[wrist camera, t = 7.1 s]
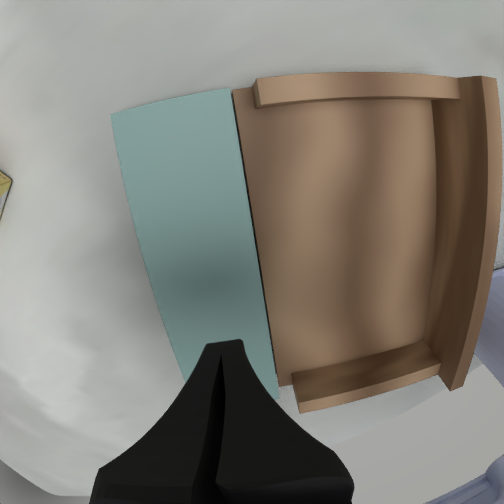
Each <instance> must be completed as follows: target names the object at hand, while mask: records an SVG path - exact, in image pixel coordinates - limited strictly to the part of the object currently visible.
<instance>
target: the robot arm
mask: <svg viewBox="0 0 504 504" xmlns="http://www.w3.org/2000/svg"><path fill="white" fill-rule="evenodd" d="M474 353H475V355H476V356H477V357H478V358H479V359H480V360H481V361H482V362H483V364H484V365H485V366H486V367H487V368H488V369H489V371H490V372H491V373H492V374H493V375H494V376H495V377H496V379H497V380H498V381H499V382H500V383H501V385H502V386H503V387H504V268H501V269H498V270H495V271H493V275H492V280H491V286H490V291H489V295H488V300H487V305H486V309H485V313H484V317H483V322H482V325H481V329H480V333H479V337H478V340H477V344H476V347H475V350H474ZM353 491H354V482H353V479H352V477H351V476H350V474H349V472H348V470H347V468H346V467H345V465H344V464H343V463H342V461H341V460H340V459H339V457H338V456H337V455H336V453H335V452H334V451H333V450H331V449H329V448H328V447H326V446H325V445H323V444H322V443H321V442H319V441H318V440H316V439H315V438H314V437H312V436H311V435H310V434H309V433H307V432H306V431H305V430H304V429H302V428H301V427H300V426H299V425H298V424H297V423H296V422H295V421H294V420H293V419H291V418H290V417H289V416H288V415H287V414H286V413H285V412H284V410H283V409H282V408H281V407H280V406H279V405H278V404H277V403H276V401H275V400H274V399H273V398H272V397H271V395H270V394H269V393H268V391H267V390H266V389H265V387H264V386H263V384H262V383H261V381H260V380H259V378H258V377H257V375H256V373H255V371H254V369H253V368H252V366H251V364H250V362H249V360H248V357H247V355H246V352H245V347H244V343H243V340H241V339H235V340H228V341H221V342H214V343H207V344H206V345H205V347H204V349H203V351H202V353H201V356H200V358H199V360H198V362H197V364H196V366H195V368H194V369H193V371H192V373H191V375H190V376H189V378H188V380H187V382H186V383H185V385H184V387H183V388H182V390H181V391H180V393H179V394H178V396H177V397H176V399H175V400H174V402H173V403H172V404H171V406H170V407H169V408H168V410H167V411H166V412H165V413H164V415H163V416H162V417H161V418H160V419H159V420H158V422H157V423H156V424H155V425H154V426H153V427H152V428H151V429H150V430H149V431H148V432H147V433H146V434H145V435H144V436H143V437H142V438H141V439H140V440H138V441H137V442H136V443H135V444H134V445H133V446H131V447H130V448H129V449H128V450H126V451H125V452H124V453H122V454H121V455H120V456H118V457H117V458H115V459H114V460H112V461H111V462H109V463H108V464H106V465H105V466H103V467H101V468H100V469H99V470H98V473H97V476H96V478H95V482H94V486H93V490H92V494H91V498H90V502H89V504H352V502H351V499H352V496H353ZM0 504H2V503H0ZM425 504H504V455H502V456H500V457H499V458H498V459H496V460H495V461H494V462H493V463H492V464H491V465H490V466H489V467H488V469H487V471H486V473H484V474H483V475H481V476H479V477H477V478H475V479H474V480H472V481H470V482H468V483H466V484H464V485H462V486H461V487H459V488H457V489H455V490H453V491H451V492H448V493H447V494H445V495H442V496H440V497H438V498H436V499H433V500H431V501H429V502H427V503H425Z"/></svg>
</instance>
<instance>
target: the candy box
mask: <svg viewBox="0 0 504 504" xmlns="http://www.w3.org/2000/svg"><path fill="white" fill-rule="evenodd" d="M10 184H11V179H10V178H8V177H7V176H5V175H4V174H3V173H2V172H0V217H1V213H2V210H3V206H4V203H5V199H6V196H7V193H8V190H9V187H10Z"/></svg>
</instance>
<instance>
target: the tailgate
mask: <svg viewBox="0 0 504 504" xmlns="http://www.w3.org/2000/svg"><path fill="white" fill-rule="evenodd" d="M110 115H111V121H112V127H113V132H114V138H115V143H116V148H117V153H118V158H119V163H120V167H121V172H122V177H123V181H124V186H125V190H126V194H127V198H128V203H129V207H130V211H131V215H132V219H133V223H134V226H135V230H136V234H137V238H138V241H139V245H140V249H141V252H142V256H143V259H144V263H145V266H146V269H147V273H148V276H149V279H150V283H151V286H152V289H153V292H154V295H155V299H156V302H157V305H158V308H159V311H160V314H161V317H162V320H163V323H164V326H165V328H166V331H167V334H168V337H169V340H170V343H171V345H172V348H173V351H174V354H175V356H176V359H177V362H178V364H179V367H180V370H181V372H182V375H183V377H184V380H185V382H187V380H188V378H189V376H190V375H191V373H192V371H193V369H194V368H195V366H196V364H197V362H198V360H199V358H200V356H201V353H202V351H203V349H204V347H205V345H206V344H207V343H214V342H221V341H228V340H235V339H241V340H243V343H244V347H245V352H246V355H247V357H248V360H249V362H250V364H251V366H252V368H253V369H254V371H255V373H256V375H257V377H258V378H259V380H260V381H261V383H262V384H263V386H264V387H265V389H266V390H267V391H268V393H269V394H270V395H271V397H272V398H273V399H274V400H275V399H279V393H278V386H277V380H276V373H275V367H274V361H273V354H272V348H271V341H270V335H269V329H268V322H267V316H266V310H265V303H264V297H263V291H262V284H261V278H260V272H259V265H258V259H257V253H256V247H255V240H254V234H253V228H252V222H251V215H250V209H249V203H248V197H247V191H246V184H245V178H244V172H243V166H242V160H241V154H240V147H239V141H238V135H237V129H236V123H235V117H234V111H233V105H232V99H231V92H230V88H224V89H218V90H212V91H207V92H201V93H196V94H191V95H186V96H181V97H176V98H172V99H167V100H163V101H159V102H154V103H150V104H146V105H142V106H139V107H135V108H131V109H127V110H124V111H120V112H117V113H113V114H110Z"/></svg>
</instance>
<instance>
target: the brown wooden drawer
mask: <svg viewBox="0 0 504 504" xmlns="http://www.w3.org/2000/svg"><path fill="white" fill-rule="evenodd" d="M232 95H233V101H234V107H235V113H236V119H237V126H238V132H239V138H240V144H241V150H242V156H243V163H244V169H245V175H246V181H247V187H248V194H249V200H250V206H251V212H252V219H253V225H254V231H255V238H256V244H257V250H258V257H259V263H260V269H261V276H262V282H263V288H264V295H265V301H266V308H267V314H268V321H269V327H270V334H271V340H272V347H273V353H274V360H275V366H276V373H277V378H278V383H279V387H281V386H287V385H292V384H293V388H294V393H295V397H296V401H297V405H298V409H299V413H300V414H301V413H306V412H310V411H315V410H320V409H324V408H329V407H333V406H337V405H341V404H345V403H349V402H353V401H357V400H360V399H364V398H368V397H371V396H375V395H378V394H381V393H385V392H388V391H391V390H394V389H398V388H401V387H404V386H407V385H410V384H413V383H416V382H419V381H421V380H424V379H427V378H430V377H432V376H435V375H439V377H440V378H441V379H442V381H443V382H444V384H445V385H446V386H447V388H448V389H449V391H452V390H454V389H457V388H459V387H461V386H463V384H464V381H465V378H466V375H467V372H468V369H469V366H470V363H471V360H472V357H473V354H474V350H475V347H476V344H477V340H478V337H479V333H480V329H481V325H482V322H483V317H484V313H485V309H486V305H487V300H488V295H489V291H490V286H491V280H492V275H493V269H494V263H495V256H496V249H497V241H498V232H499V222H500V210H501V194H502V134H501V118H500V106H499V97H498V88H497V81H496V78H491V77H485V76H472V77H462V78H455V77H446V76H436V75H425V74H411V73H390V72H334V73H313V74H298V75H286V76H276V77H267V78H258V79H256V81H255V83H254V84H253V86H252V87H250V88H243V89H236V90H233V91H232Z"/></svg>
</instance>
